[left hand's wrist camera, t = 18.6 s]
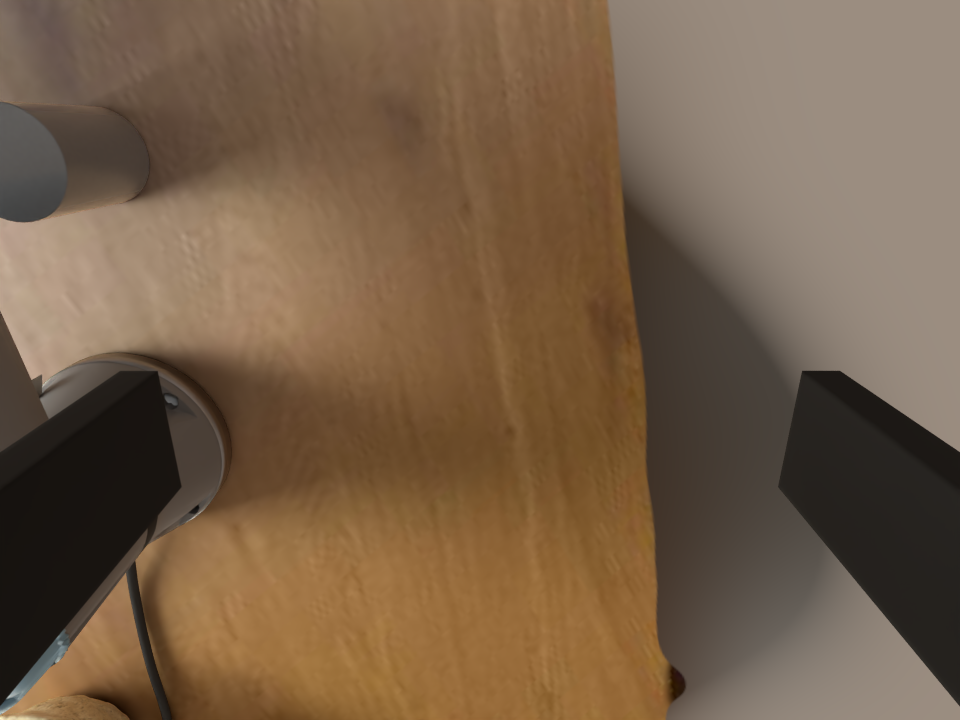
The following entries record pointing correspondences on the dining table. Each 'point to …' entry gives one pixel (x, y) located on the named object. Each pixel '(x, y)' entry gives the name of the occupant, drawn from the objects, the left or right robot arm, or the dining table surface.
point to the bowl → (70, 710)
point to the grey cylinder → (66, 160)
